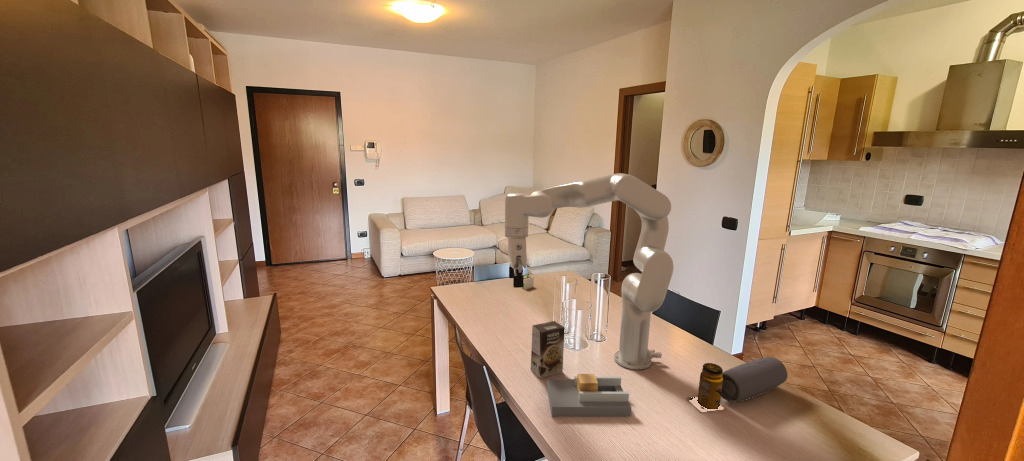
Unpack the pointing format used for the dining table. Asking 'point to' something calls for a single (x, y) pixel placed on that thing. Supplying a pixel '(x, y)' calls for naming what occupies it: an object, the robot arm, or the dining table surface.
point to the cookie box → (547, 349)
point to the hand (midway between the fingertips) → (515, 282)
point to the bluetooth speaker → (752, 379)
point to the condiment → (710, 386)
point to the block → (587, 383)
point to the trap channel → (588, 398)
